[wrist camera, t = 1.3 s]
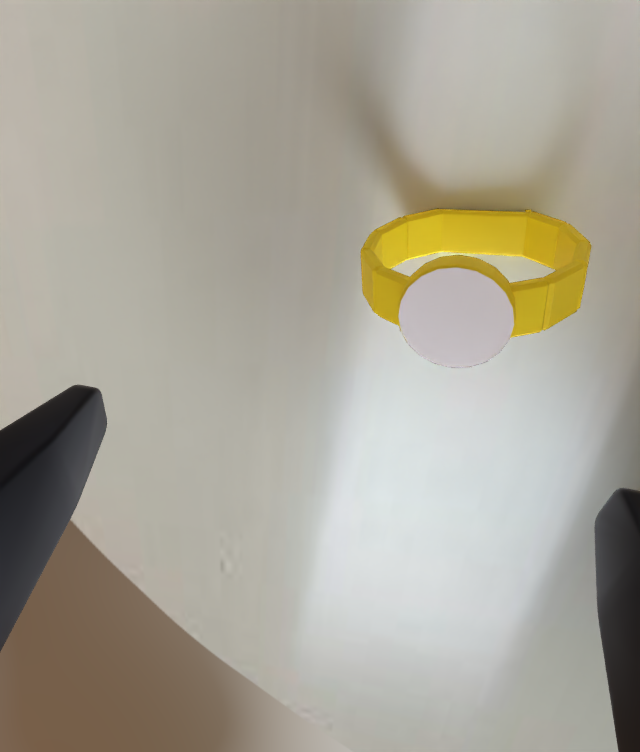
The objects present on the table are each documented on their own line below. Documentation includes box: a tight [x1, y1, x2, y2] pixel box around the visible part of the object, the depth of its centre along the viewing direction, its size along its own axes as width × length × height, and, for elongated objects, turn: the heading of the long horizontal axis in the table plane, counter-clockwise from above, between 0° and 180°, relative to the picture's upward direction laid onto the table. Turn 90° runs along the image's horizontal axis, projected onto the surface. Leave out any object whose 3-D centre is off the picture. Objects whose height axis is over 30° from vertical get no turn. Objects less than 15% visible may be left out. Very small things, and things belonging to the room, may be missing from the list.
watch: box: [361, 208, 592, 368], centre depth 16 cm, size 6×3×6 cm, turn 95°
